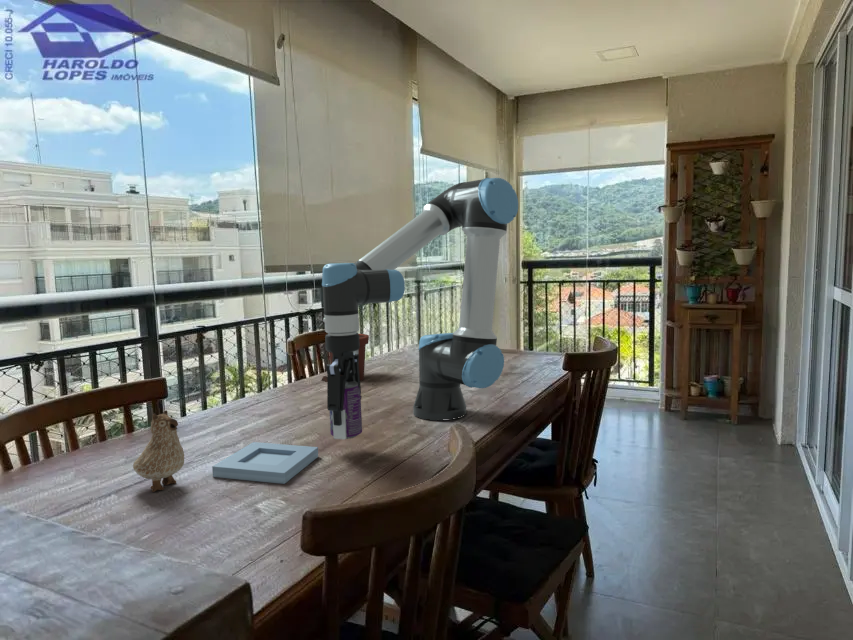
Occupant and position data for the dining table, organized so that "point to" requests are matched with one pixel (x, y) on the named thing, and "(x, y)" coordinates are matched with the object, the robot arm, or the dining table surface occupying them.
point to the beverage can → (351, 410)
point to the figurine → (161, 453)
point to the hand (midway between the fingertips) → (346, 432)
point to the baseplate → (266, 462)
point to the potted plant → (361, 351)
